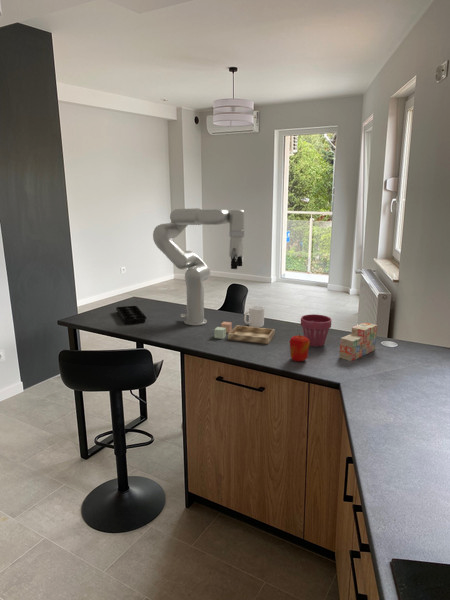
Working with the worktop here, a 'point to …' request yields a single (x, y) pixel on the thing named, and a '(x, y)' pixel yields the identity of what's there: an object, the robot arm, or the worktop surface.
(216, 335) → the sage block
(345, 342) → the stack of blocks
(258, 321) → the cup
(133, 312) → the egg carton
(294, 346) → the apple
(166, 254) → the robot arm
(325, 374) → the worktop surface
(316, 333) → the plant pot
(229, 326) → the terracotta block
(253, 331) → the oak tray
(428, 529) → the worktop surface
